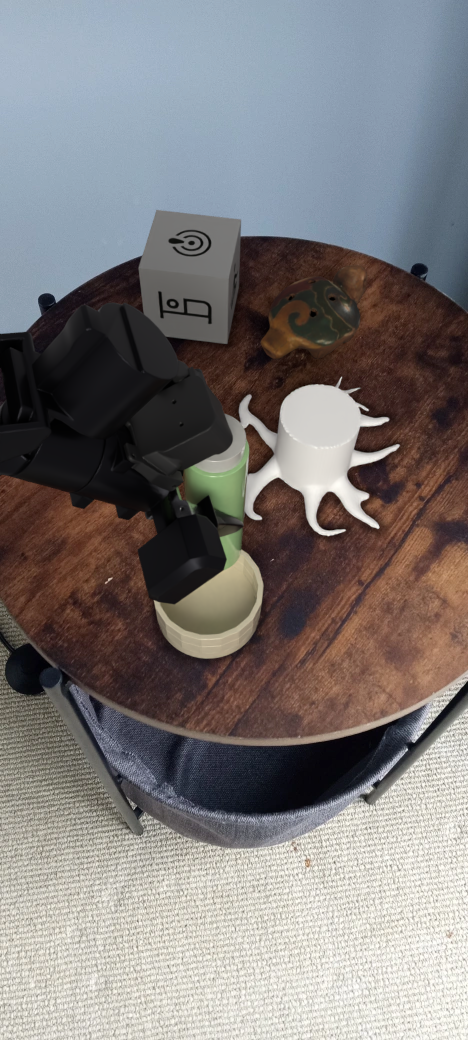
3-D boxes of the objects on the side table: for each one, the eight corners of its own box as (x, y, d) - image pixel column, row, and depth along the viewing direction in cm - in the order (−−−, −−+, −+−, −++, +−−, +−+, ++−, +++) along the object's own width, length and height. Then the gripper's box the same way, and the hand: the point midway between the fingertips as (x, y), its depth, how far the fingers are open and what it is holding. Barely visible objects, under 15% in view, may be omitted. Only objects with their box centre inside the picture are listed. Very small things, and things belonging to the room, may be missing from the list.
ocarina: (382, 327, 89) (396, 279, 82) (298, 397, 84) (304, 354, 77) (324, 283, 92) (332, 234, 85) (240, 350, 87) (241, 304, 80)
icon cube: (146, 334, 88) (138, 267, 79) (162, 277, 93) (156, 209, 84) (227, 344, 87) (228, 278, 78) (238, 286, 92) (241, 219, 83)
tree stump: (423, 429, 81) (443, 381, 74) (361, 567, 72) (377, 527, 65) (263, 367, 85) (267, 316, 78) (185, 490, 76) (182, 445, 69)
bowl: (167, 669, 66) (164, 651, 62) (148, 573, 71) (143, 550, 67) (271, 646, 68) (275, 626, 63) (245, 553, 73) (247, 529, 68)
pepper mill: (196, 578, 65) (192, 472, 50) (180, 532, 67) (172, 418, 52) (249, 563, 66) (260, 454, 51) (231, 518, 68) (236, 402, 53)
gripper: (193, 501, 40) (345, 547, 52) (124, 278, 49) (266, 359, 61) (76, 594, 46) (236, 618, 57) (33, 378, 55) (179, 435, 66)
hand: (230, 501), depth 60 cm, fingers closed on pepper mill, 5 cm apart
